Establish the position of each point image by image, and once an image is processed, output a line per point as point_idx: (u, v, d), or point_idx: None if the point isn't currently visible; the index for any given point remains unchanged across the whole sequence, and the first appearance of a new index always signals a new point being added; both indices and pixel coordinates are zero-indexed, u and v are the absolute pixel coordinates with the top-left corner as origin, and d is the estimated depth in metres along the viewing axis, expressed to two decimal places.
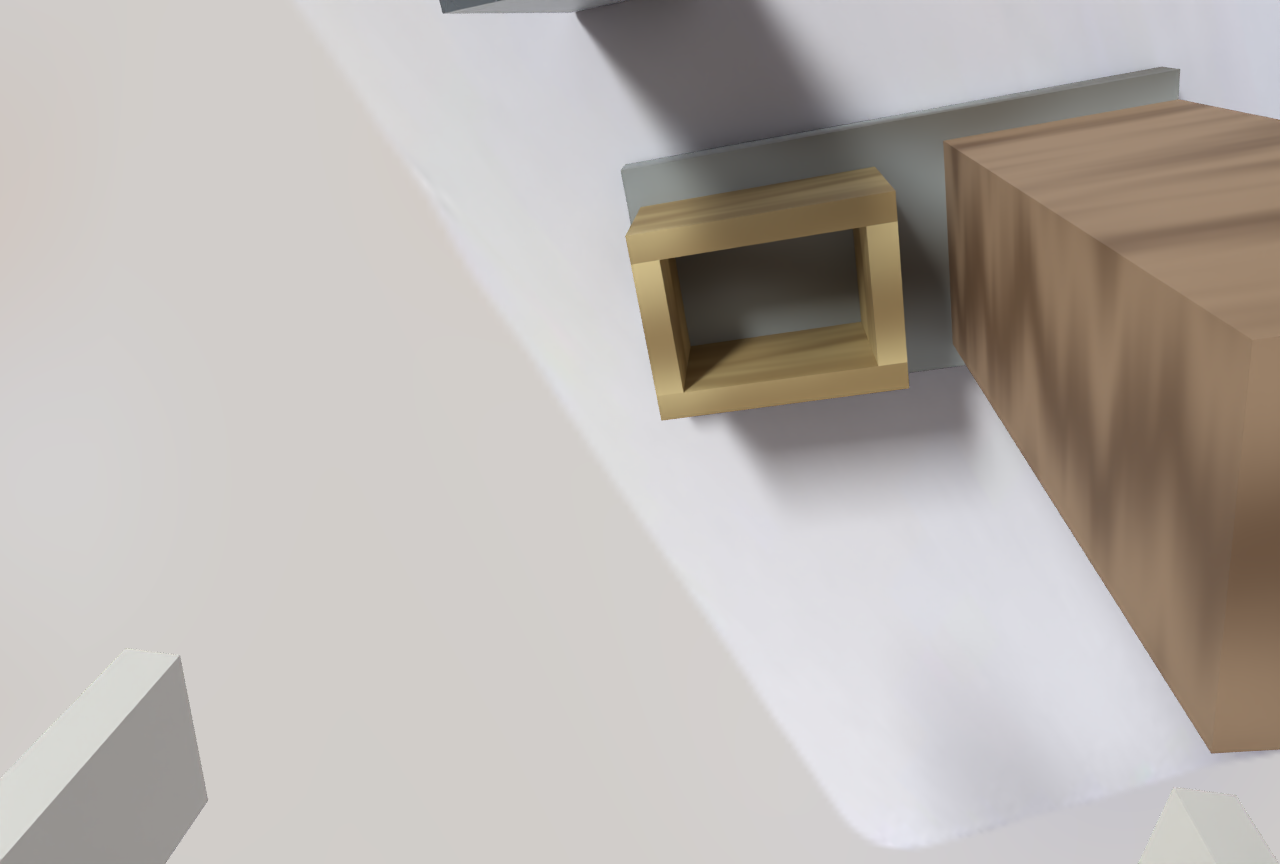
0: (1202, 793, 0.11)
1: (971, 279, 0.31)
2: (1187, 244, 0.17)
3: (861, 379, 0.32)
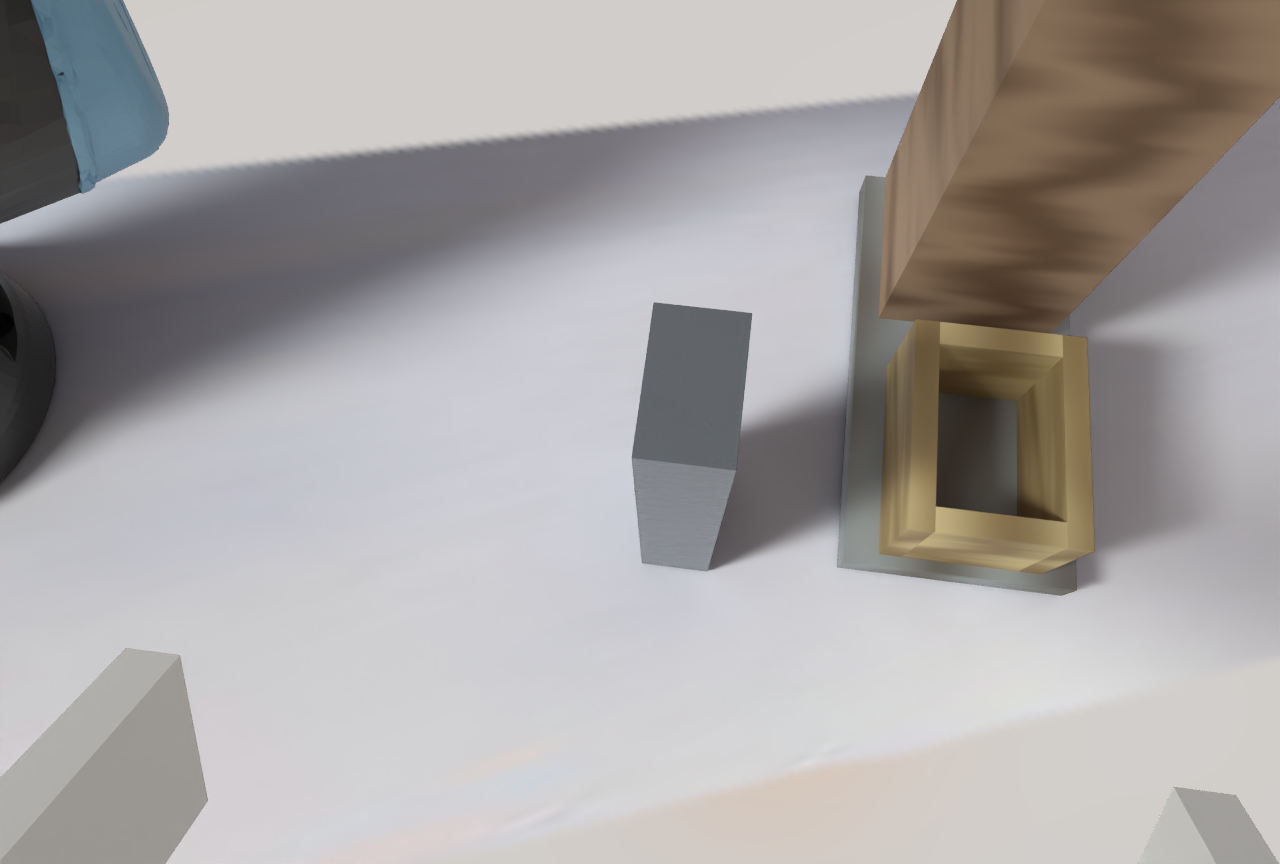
0: (1203, 794, 0.11)
1: (996, 288, 0.39)
2: (1011, 31, 0.27)
3: (1073, 371, 0.36)
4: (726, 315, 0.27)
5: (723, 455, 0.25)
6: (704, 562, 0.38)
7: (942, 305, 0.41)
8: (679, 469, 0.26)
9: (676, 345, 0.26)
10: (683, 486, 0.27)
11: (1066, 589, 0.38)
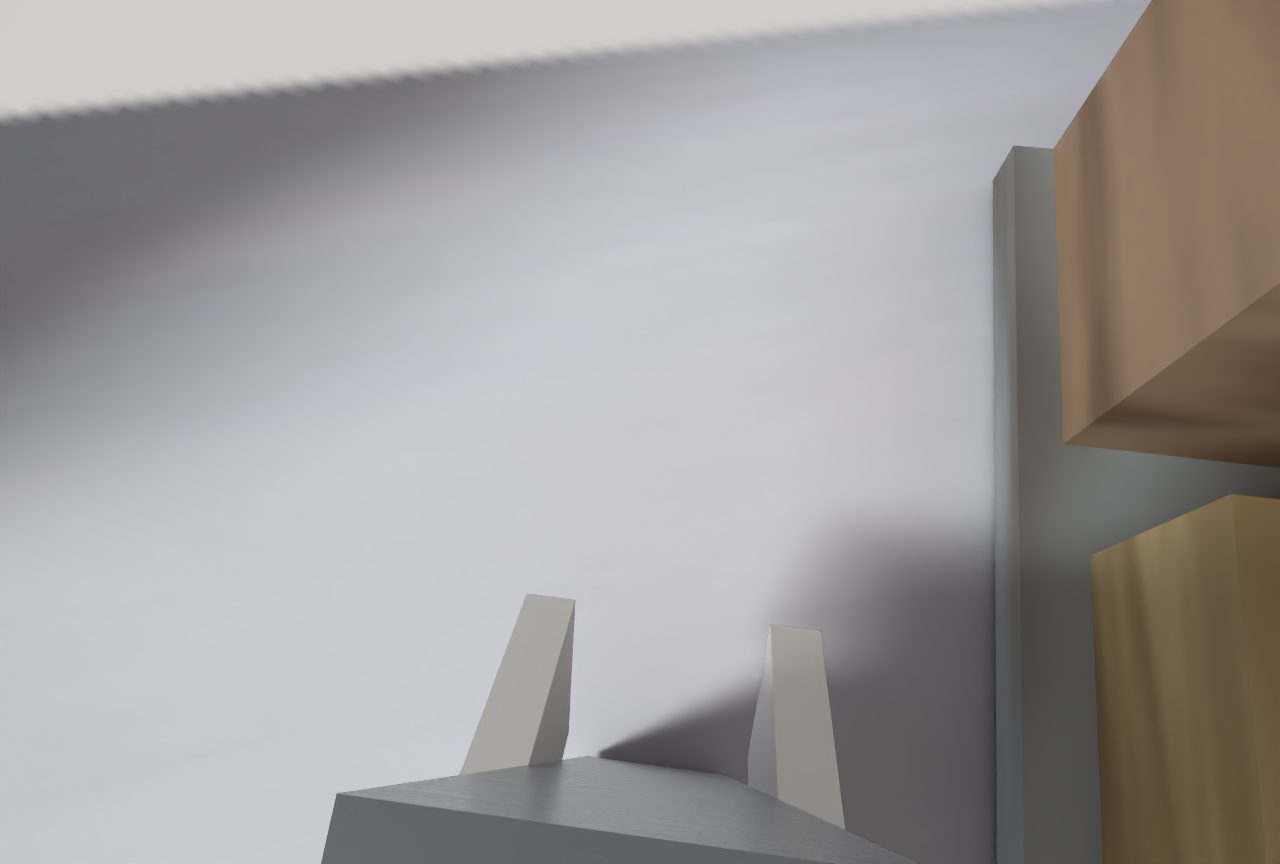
0: (791, 629, 0.13)
1: None
2: None
3: None
4: None
5: None
6: None
7: (1226, 428, 0.18)
8: None
9: None
10: None
11: None
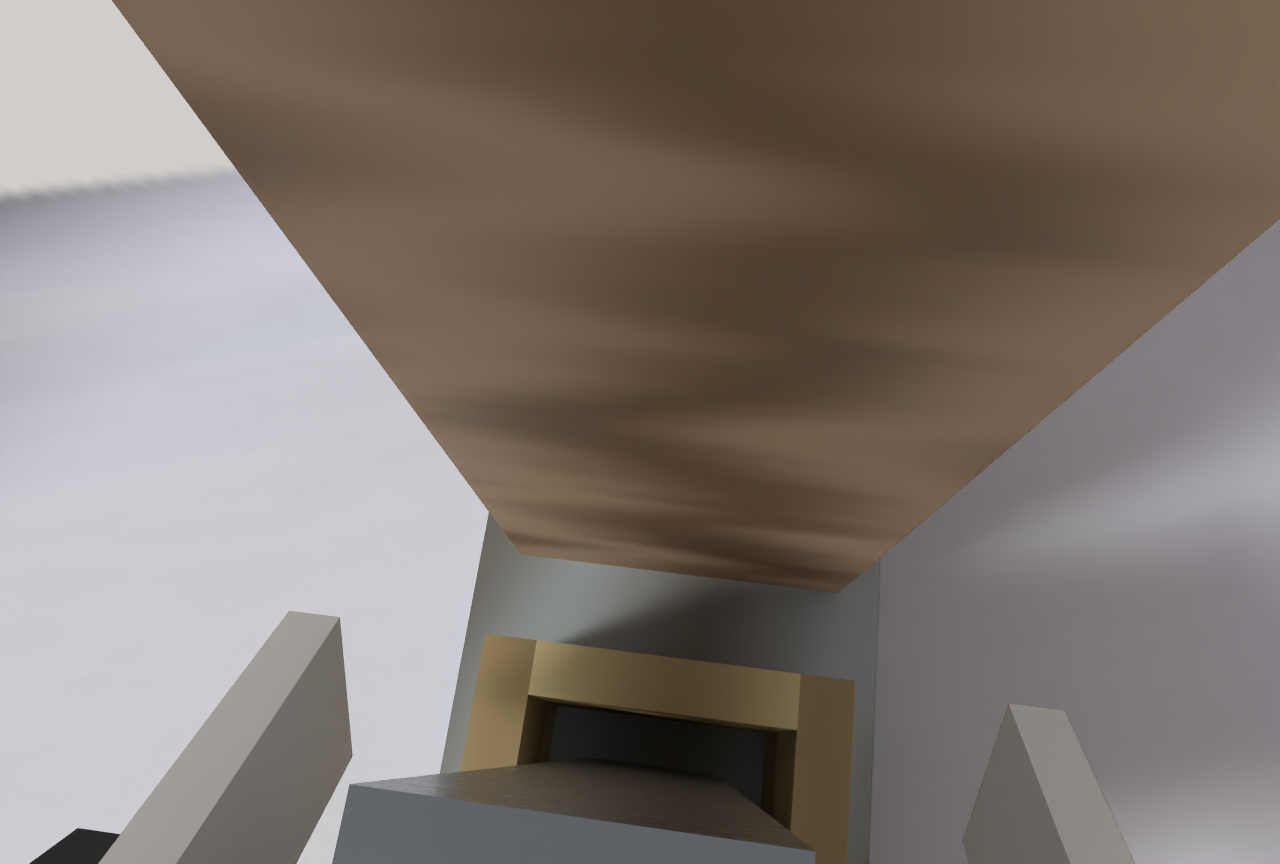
0: (1034, 709, 0.12)
1: (690, 541, 0.19)
2: None
3: (818, 769, 0.16)
4: None
5: None
6: None
7: (613, 550, 0.21)
8: None
9: None
10: None
11: None
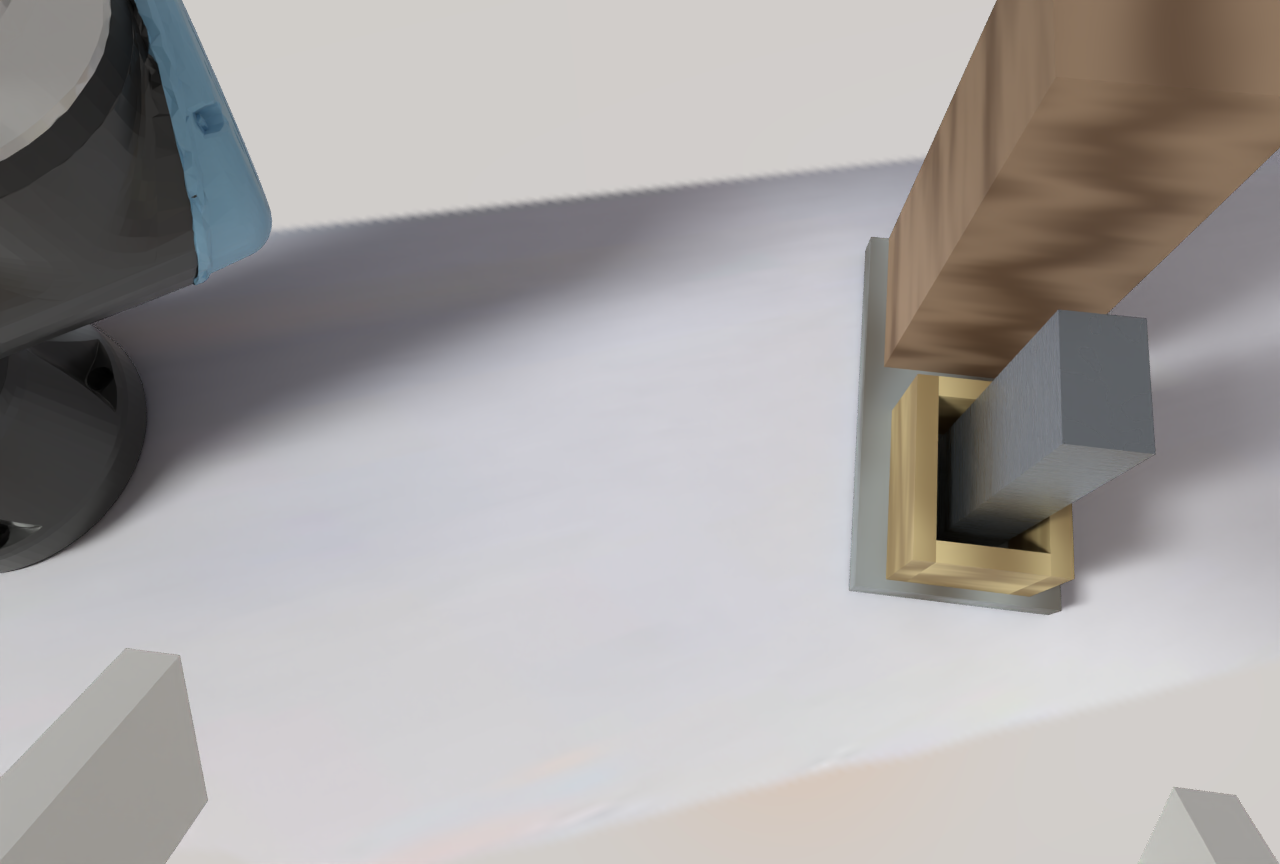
0: (1201, 793, 0.11)
1: (988, 344, 0.44)
2: (996, 148, 0.32)
3: None
4: (1124, 321, 0.31)
5: (1141, 440, 0.29)
6: (996, 543, 0.42)
7: (940, 357, 0.46)
8: (1097, 453, 0.30)
9: (1084, 346, 0.31)
10: (1079, 469, 0.31)
11: (1052, 610, 0.43)
